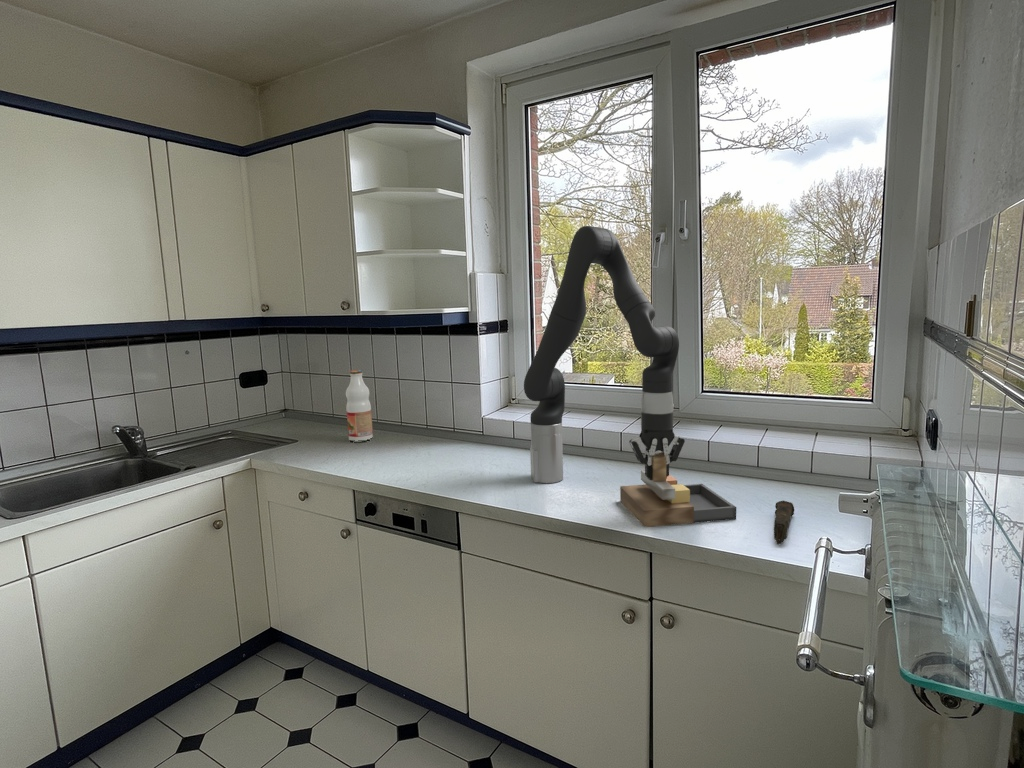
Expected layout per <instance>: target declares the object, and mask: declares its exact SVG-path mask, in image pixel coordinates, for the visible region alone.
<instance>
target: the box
mask: <svg viewBox="0 0 1024 768" xmlns="http://www.w3.org/2000/svg"><path fill="white" fill-rule="evenodd" d="M683 485H684V486H685V487H687V488H688V489H689V490H690V502H689V503H690V504H691V505H693V506H694V523H693V524H696V523H695V522H699V523H708V522H707V521H710V522H718V521H719V522H721V521H722V522H723V521H730V520H731V521H732V520H737V506H736V505H734V504H733V503H731V502H730V501H728V500H727V499H725V498H724V497H722V496H721V495H720V494H718V493H717V492H715V491H713V489H711V488H709V487H708V486H707V485H705V484H704V483H695V484H694V483H693V484H683Z"/></svg>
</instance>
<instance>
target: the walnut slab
mask: <svg viewBox="0 0 1024 768" xmlns="http://www.w3.org/2000/svg"><path fill="white" fill-rule="evenodd" d="M619 488H620V489H619V491H620V492H619V493H620V494H619V495H620V498H619V499H620V503H622V504H623V506H624V507H625V508H626V509H627V510H628V511H629V512H630V514H631V515H632V516H634V518H635V519H636V520H637V521H638V522H639V523H640V524H641V525H642V526H643V527H644V528H650V527H660V526H672V525H671V524H675V525H684V523H687V524H695V523H694V506H693V505H691V504H690V503H689V502H685V503H671V502H669V501H668V500H662V499H661V498H660V497H659V496H658V495H657V494H656V493H655V492H654V491H653V490H652V489H651V488H649V487H648V486H647V485H646V484H645V483H643V484H633V485H620V486H619Z"/></svg>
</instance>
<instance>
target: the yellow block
mask: <svg viewBox="0 0 1024 768" xmlns="http://www.w3.org/2000/svg"><path fill="white" fill-rule="evenodd" d="M684 485H685V484H681V483H680V484H678V483H677V485H671V486H673V487H674V488H675V499H667V500H668V501H669V502H671V503H685V502H690V490H689V489H688V488H687V487H685V486H684Z"/></svg>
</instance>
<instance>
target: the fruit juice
mask: <svg viewBox="0 0 1024 768" xmlns="http://www.w3.org/2000/svg"><path fill="white" fill-rule="evenodd" d="M363 374H364V373H363V370H362V369H354V370H353V369H351V370H349V376H350V381H349V384H348V386H347V388H346V389H345V396H346V399H347V402H346V406H345V407H346V408H345V409H346V419H347V421H346V422H347V431H348V432H347V433H348V441H349V440H355V441H358V440H367V439H370V438H372V437H373V438H374V433H373V431H374V429H373V419H372V418H373V417H372V406H371V401H370V399H369V398H370V389H369V387H368V386H367V385H366V384H365V381H364V379H363Z"/></svg>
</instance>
